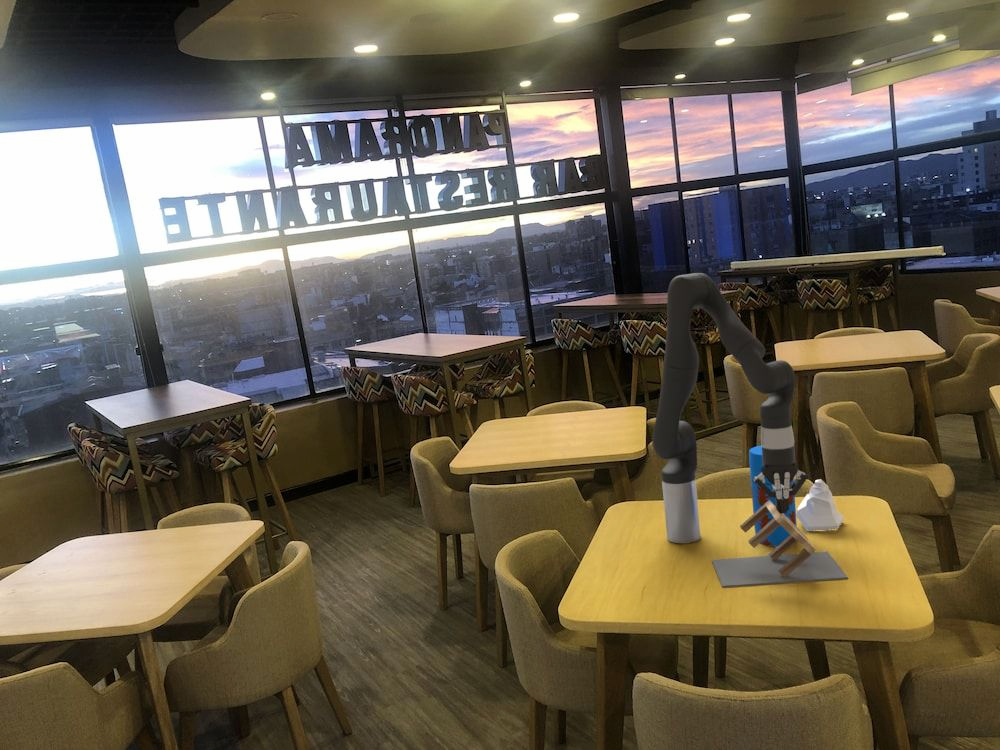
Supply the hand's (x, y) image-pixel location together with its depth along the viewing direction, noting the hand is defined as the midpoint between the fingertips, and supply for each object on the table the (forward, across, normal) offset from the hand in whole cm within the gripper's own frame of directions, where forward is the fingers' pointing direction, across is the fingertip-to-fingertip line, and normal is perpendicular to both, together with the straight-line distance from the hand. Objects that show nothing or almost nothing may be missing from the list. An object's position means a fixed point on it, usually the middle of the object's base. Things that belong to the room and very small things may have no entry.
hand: (782, 512), depth 197 cm
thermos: (+15, -2, -20) cm, 25 cm away
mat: (+15, +2, 0) cm, 15 cm away
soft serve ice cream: (+15, -16, -29) cm, 36 cm away
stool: (+11, -2, 0) cm, 11 cm away
